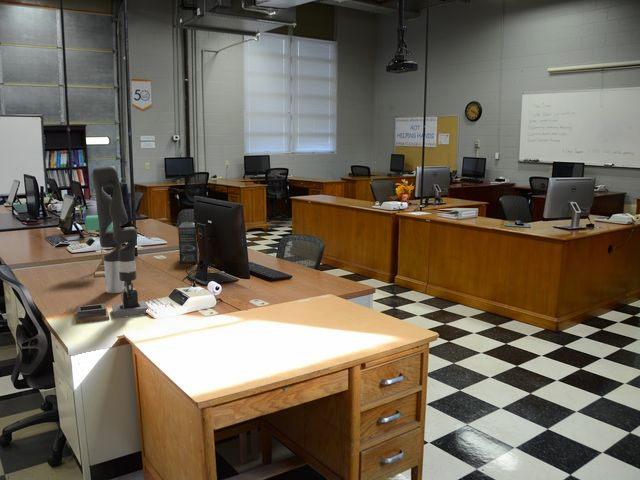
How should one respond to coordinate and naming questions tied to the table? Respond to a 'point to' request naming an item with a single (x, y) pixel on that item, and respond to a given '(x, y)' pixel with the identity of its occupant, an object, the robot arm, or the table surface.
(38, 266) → the table surface
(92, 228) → the banker's lamp
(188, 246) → the computer tower
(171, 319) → the table surface
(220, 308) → the table surface
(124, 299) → the battery
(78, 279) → the table surface
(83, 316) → the tray
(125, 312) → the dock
